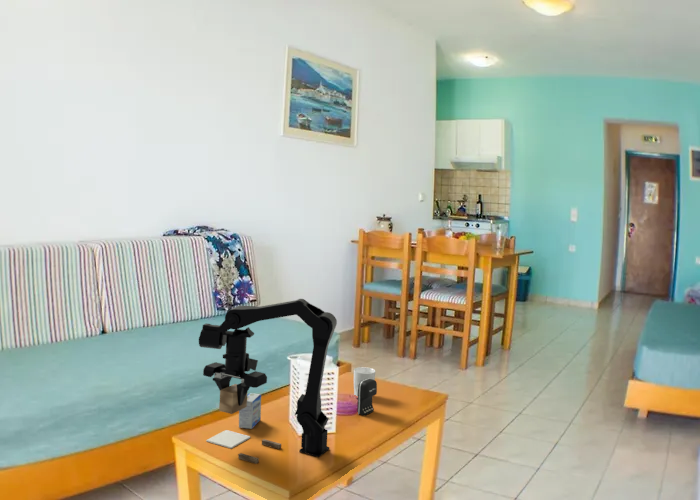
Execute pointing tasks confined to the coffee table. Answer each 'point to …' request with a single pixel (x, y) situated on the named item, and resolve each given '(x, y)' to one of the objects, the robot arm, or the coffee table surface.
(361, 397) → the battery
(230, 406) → the block
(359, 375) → the white cup
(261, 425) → the coffee table surface
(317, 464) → the coffee table surface
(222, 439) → the plate
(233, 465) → the coffee table surface
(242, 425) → the medicine box
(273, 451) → the coffee table surface
